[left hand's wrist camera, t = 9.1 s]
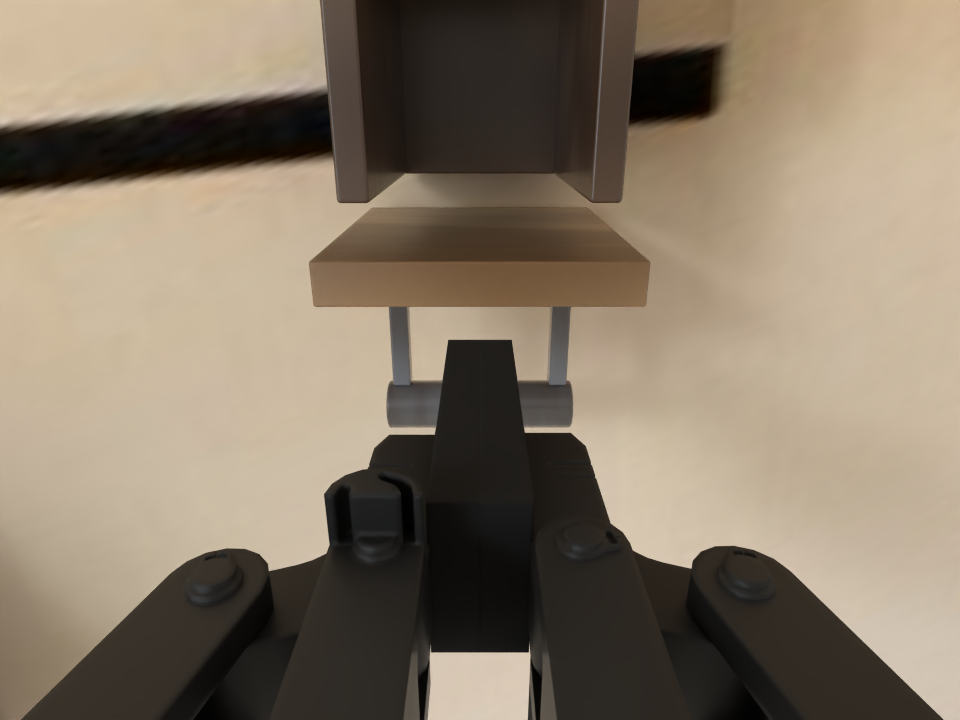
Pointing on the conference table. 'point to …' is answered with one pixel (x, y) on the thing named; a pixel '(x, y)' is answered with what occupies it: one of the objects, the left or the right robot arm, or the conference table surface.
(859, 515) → the conference table surface
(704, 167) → the conference table surface
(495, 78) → the drawer
